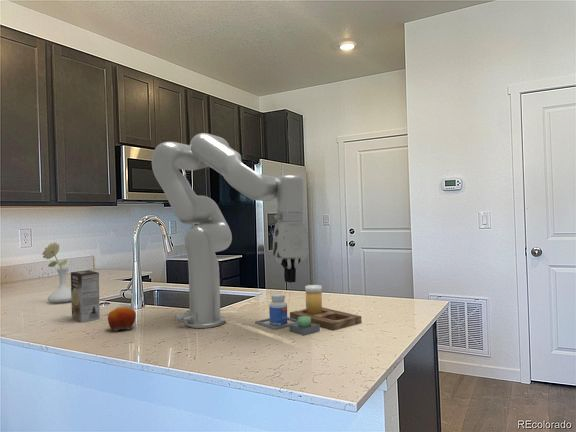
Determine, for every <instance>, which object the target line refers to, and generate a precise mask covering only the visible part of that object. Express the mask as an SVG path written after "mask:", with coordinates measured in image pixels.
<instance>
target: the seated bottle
mask: <svg viewBox="0 0 576 432" xmlns="http://www.w3.org/2000/svg"><path fill="white" fill-rule="evenodd" d="M322 286H323V285H321V284H307V285H305V286H304V288H305V289H304V291H305V309H306V313H307V314H311V315H316V314H321V313H322V307H323V301H322V299H323V297H322V296H323V295H322V291H323V287H322Z"/></svg>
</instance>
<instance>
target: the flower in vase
mask: <svg viewBox="0 0 576 432" xmlns="http://www.w3.org/2000/svg"><path fill="white" fill-rule="evenodd" d="M59 250H60V244H59V243H58V242H51V243H50V244H48V245H47V247H45V248H44V251H43V252H42V258H43V259H46V260H50V259H52V258H53V257H55V260H56V261H55V260H54V261H53V260H52V261H51V262H49V263H48V266H47V267H49V268H51V267H52V268H53V267H55V266H56V265H58V266H59V267H58V268H55V271H56V272H57V273H58V277H59V278H58V279H59V286H58V287H57V288H56V290H54V291H53V292H52V293H51V294H50V295H49V296H48V297H47V301H49V302H51V303H67V302H71V287H70V288H69V286H68V285H67V282H66V281H67V272H68V271H69V269H70V267H62V266H65V265H67V263H68V259H64V260H63V261H58V258H57V254H58V253H59V252H60V251H59Z"/></svg>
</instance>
